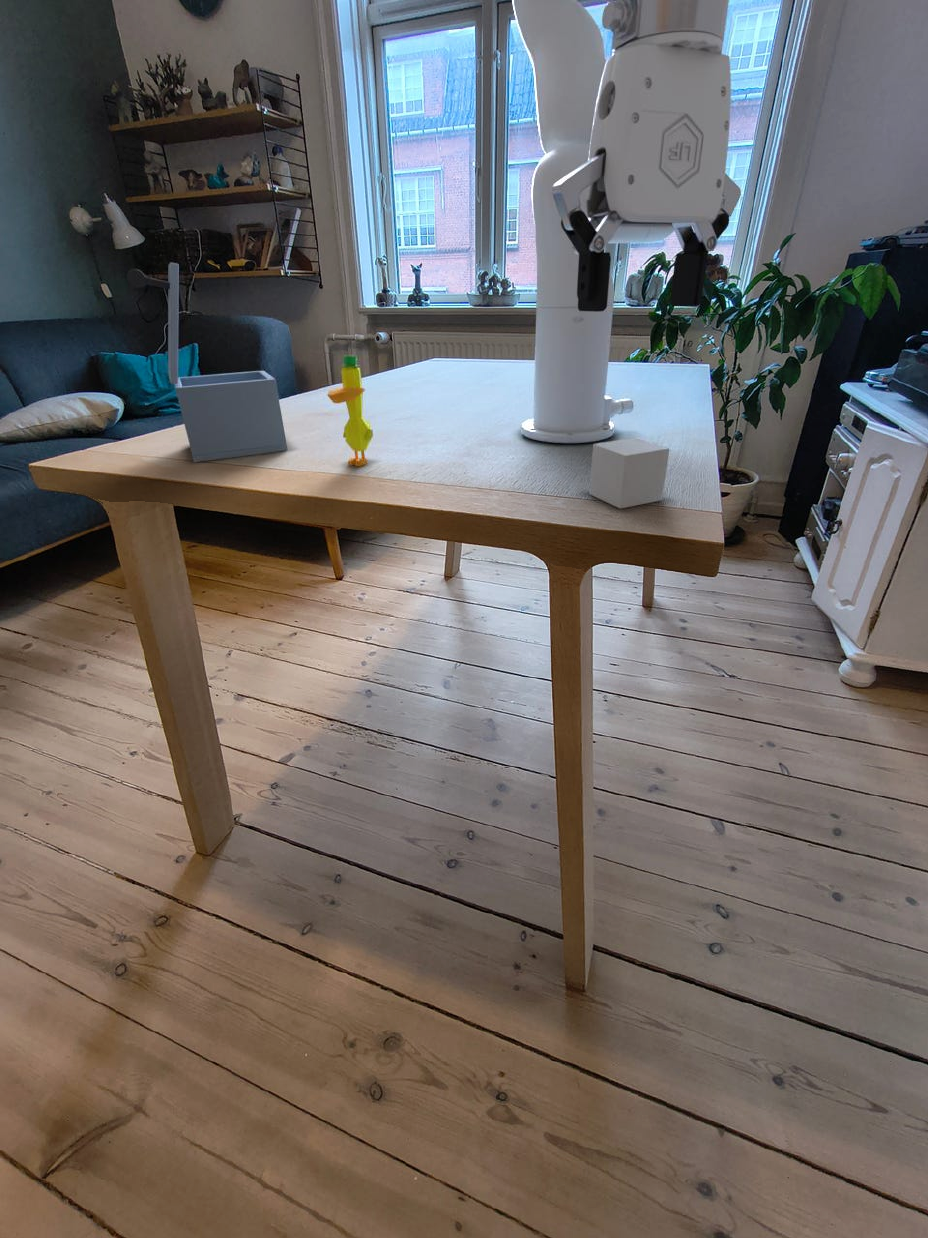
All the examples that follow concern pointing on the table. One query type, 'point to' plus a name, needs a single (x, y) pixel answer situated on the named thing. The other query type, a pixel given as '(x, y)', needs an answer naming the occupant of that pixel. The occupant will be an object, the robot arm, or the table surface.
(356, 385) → the toy figure
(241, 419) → the grey storage bin
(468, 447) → the table surface
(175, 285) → the box lid
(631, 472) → the pale grey cube
